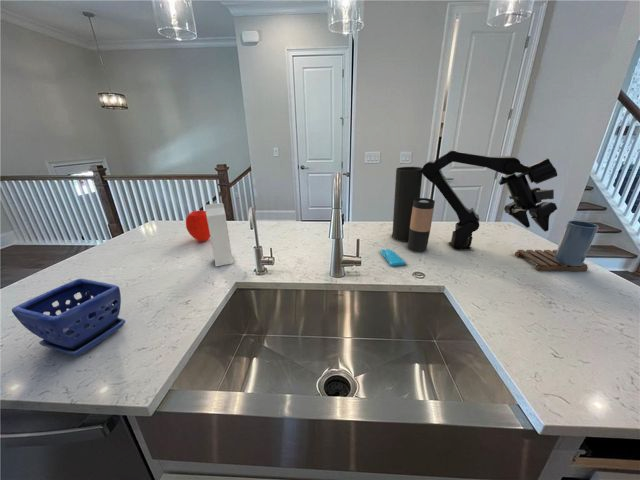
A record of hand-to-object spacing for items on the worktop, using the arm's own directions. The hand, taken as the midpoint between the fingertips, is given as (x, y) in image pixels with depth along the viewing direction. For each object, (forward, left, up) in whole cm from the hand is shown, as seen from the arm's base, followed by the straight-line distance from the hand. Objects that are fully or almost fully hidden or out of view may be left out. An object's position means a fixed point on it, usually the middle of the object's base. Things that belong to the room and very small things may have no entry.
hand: (537, 229), depth 93 cm
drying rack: (+4, -4, -11) cm, 13 cm away
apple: (-131, +17, -11) cm, 132 cm away
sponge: (-51, -1, -11) cm, 52 cm away
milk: (-114, -4, -11) cm, 114 cm away
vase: (-41, +20, -11) cm, 47 cm away
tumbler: (+8, -8, -9) cm, 14 cm away
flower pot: (-132, -43, -11) cm, 139 cm away
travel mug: (-39, +8, -11) cm, 41 cm away
